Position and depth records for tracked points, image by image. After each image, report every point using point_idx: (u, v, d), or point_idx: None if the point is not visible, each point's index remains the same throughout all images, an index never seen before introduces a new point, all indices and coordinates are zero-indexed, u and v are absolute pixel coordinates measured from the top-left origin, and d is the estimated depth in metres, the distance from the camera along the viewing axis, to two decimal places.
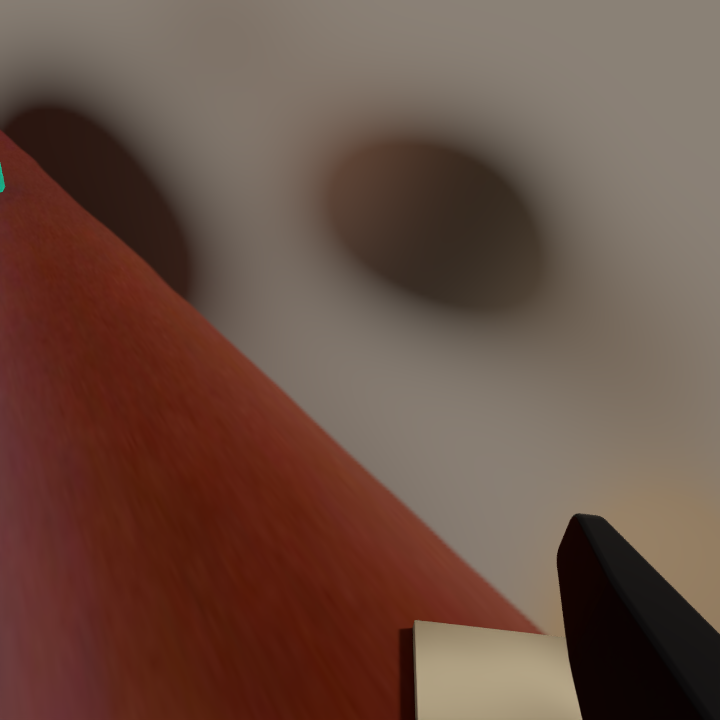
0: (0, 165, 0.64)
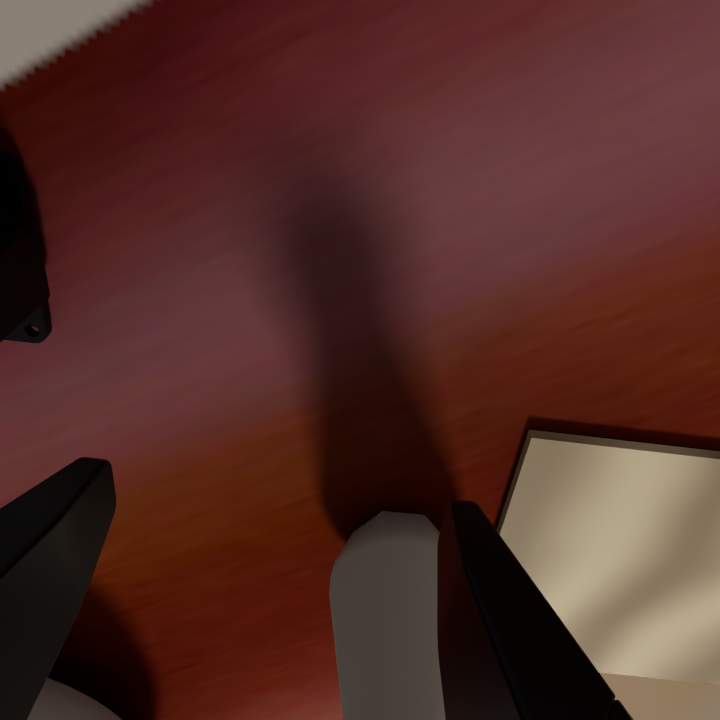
0: None
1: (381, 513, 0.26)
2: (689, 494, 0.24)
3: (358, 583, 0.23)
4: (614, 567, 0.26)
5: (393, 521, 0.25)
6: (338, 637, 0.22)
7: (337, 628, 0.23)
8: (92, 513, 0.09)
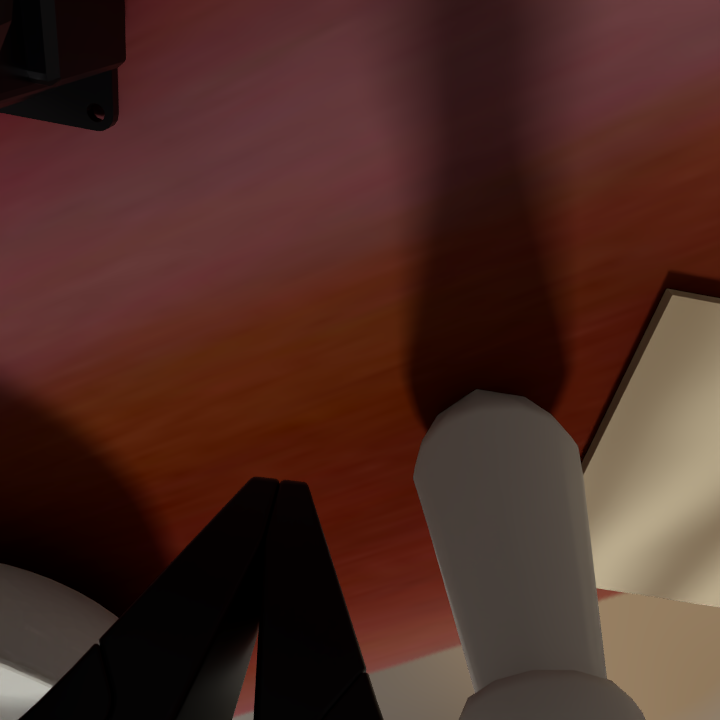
0: None
1: (475, 391, 0.22)
2: None
3: (463, 453, 0.19)
4: None
5: (492, 397, 0.22)
6: (440, 511, 0.19)
7: (437, 503, 0.19)
8: None
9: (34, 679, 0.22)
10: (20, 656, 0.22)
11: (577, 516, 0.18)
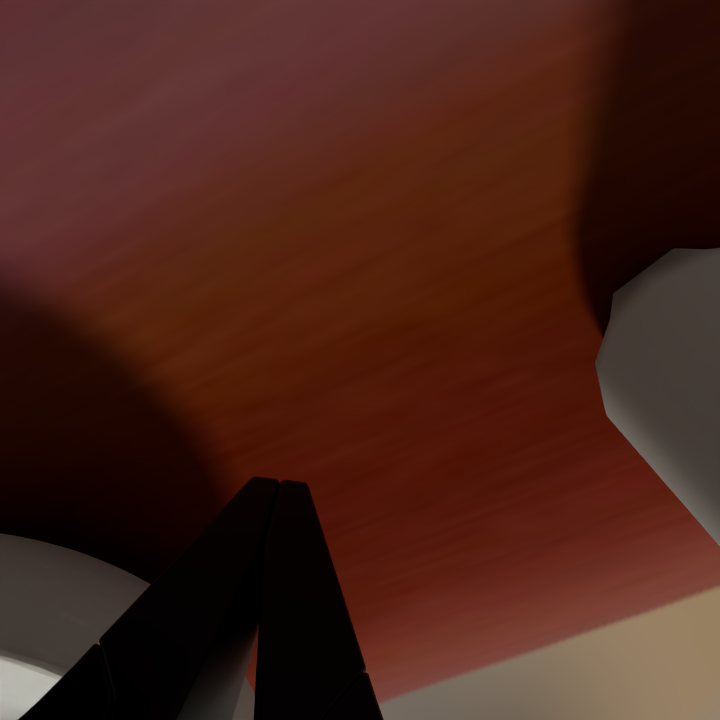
0: None
1: (674, 249, 0.16)
2: None
3: (703, 312, 0.13)
4: None
5: None
6: (682, 399, 0.12)
7: (672, 388, 0.12)
8: None
9: None
10: (58, 654, 0.16)
11: None
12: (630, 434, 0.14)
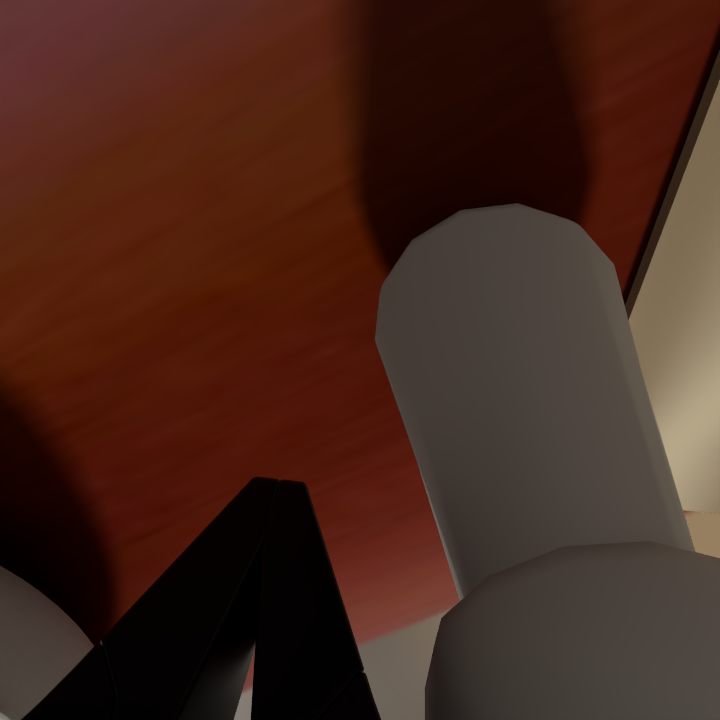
0: None
1: None
2: None
3: (436, 270, 0.12)
4: None
5: None
6: (404, 357, 0.12)
7: (400, 347, 0.12)
8: None
9: None
10: None
11: (622, 337, 0.11)
12: None
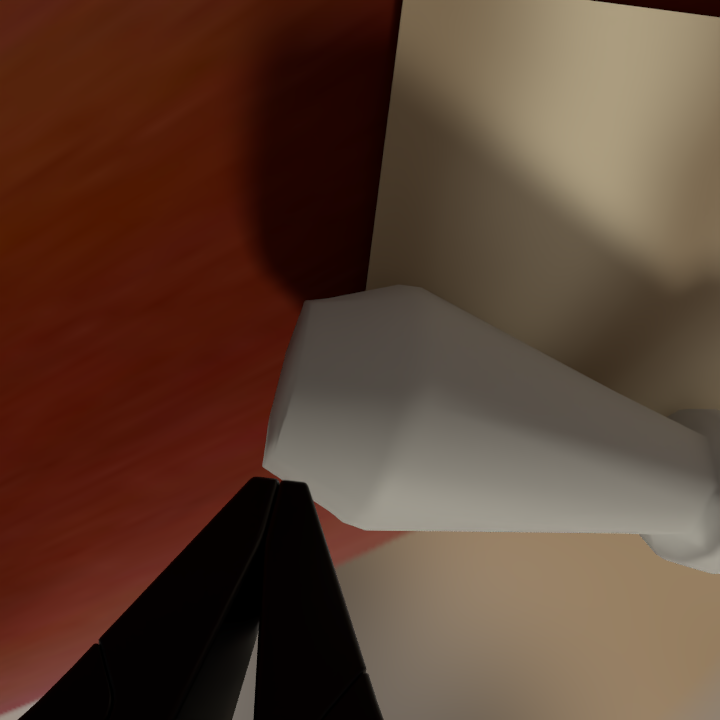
0: None
1: (307, 380, 0.12)
2: (696, 114, 0.14)
3: (473, 459, 0.12)
4: (570, 292, 0.16)
5: (347, 362, 0.12)
6: (505, 517, 0.13)
7: (490, 517, 0.13)
8: None
9: None
10: None
11: (543, 354, 0.15)
12: None
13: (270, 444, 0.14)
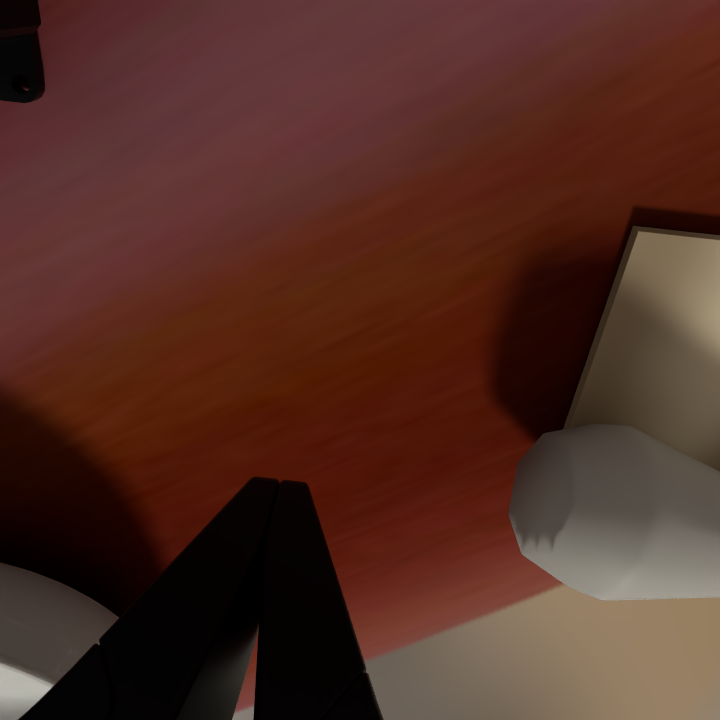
0: None
1: (582, 505, 0.18)
2: None
3: (690, 555, 0.18)
4: None
5: (606, 492, 0.18)
6: (702, 591, 0.19)
7: (693, 591, 0.19)
8: None
9: (15, 670, 0.22)
10: (0, 648, 0.22)
11: (715, 471, 0.21)
12: None
13: (533, 540, 0.20)
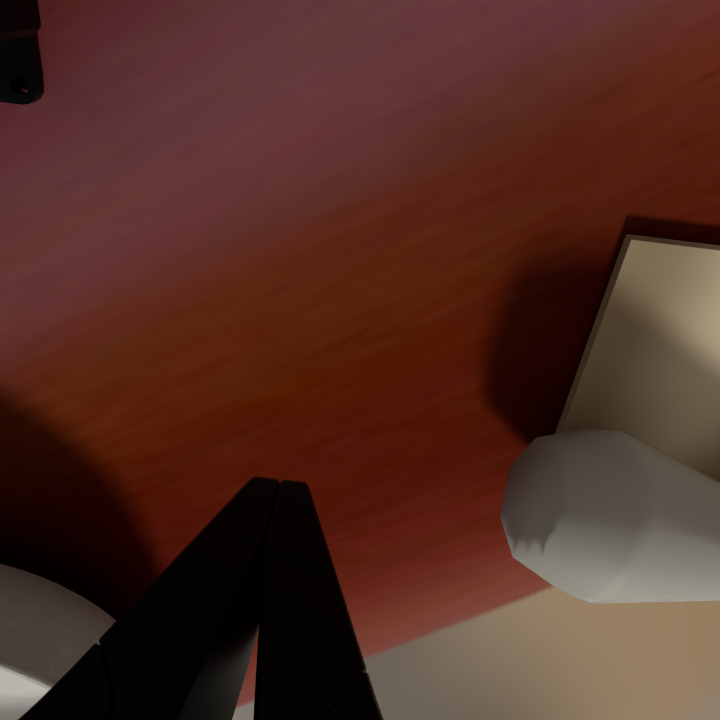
0: None
1: (572, 509, 0.18)
2: None
3: (678, 560, 0.19)
4: (713, 425, 0.22)
5: (597, 497, 0.18)
6: (689, 595, 0.20)
7: (680, 595, 0.20)
8: None
9: (8, 671, 0.22)
10: None
11: (704, 476, 0.21)
12: None
13: (524, 543, 0.20)
